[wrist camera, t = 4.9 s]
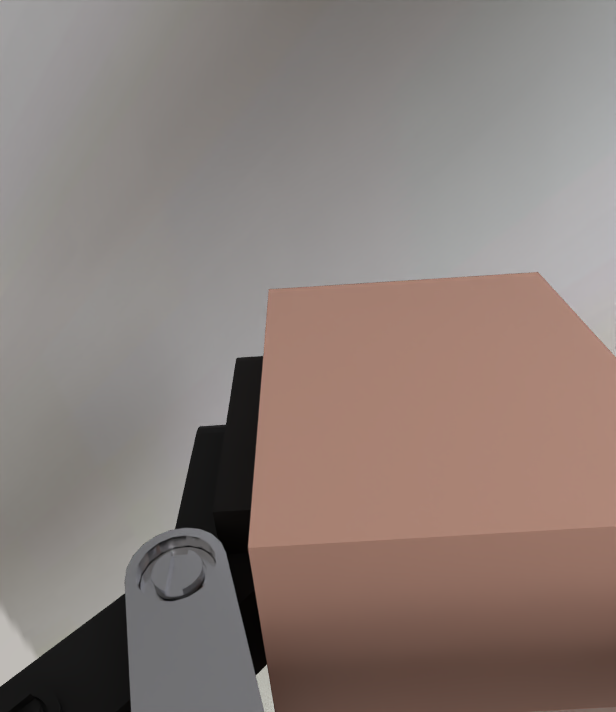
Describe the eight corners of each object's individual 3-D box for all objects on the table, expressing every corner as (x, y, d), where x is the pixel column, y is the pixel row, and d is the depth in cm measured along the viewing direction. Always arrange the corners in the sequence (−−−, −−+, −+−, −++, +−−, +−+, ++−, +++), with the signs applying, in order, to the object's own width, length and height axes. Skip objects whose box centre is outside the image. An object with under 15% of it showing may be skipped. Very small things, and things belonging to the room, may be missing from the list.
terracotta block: (268, 289, 11) (247, 548, 6) (538, 272, 11) (761, 517, 6) (289, 486, 13) (286, 785, 8) (505, 473, 13) (639, 767, 8)
